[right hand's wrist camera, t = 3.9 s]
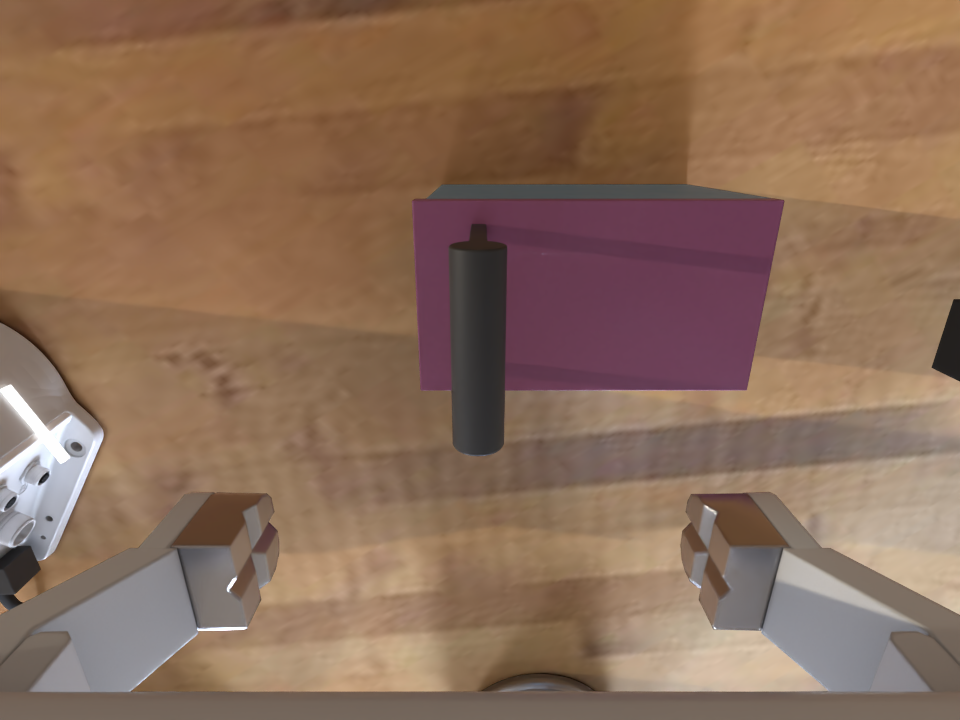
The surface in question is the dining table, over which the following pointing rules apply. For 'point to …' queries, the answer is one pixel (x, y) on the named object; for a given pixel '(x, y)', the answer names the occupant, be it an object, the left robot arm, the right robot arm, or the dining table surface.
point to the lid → (585, 298)
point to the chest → (584, 192)
